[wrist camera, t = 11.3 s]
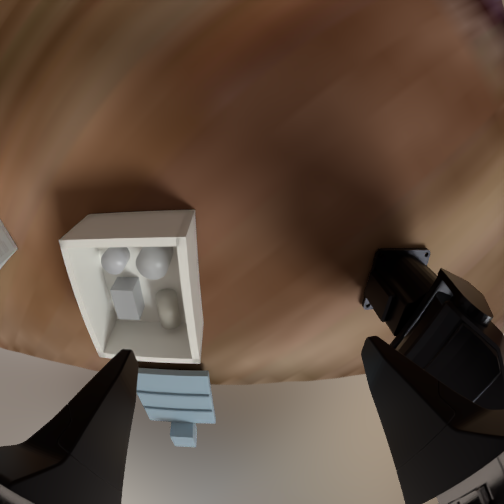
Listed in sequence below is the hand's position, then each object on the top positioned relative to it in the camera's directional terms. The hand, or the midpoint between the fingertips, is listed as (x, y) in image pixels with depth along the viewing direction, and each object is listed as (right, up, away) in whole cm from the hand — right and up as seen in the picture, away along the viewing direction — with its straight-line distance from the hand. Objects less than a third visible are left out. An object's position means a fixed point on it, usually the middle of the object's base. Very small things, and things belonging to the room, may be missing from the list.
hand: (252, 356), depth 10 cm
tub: (-9, +2, +13) cm, 16 cm away
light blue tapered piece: (-9, -15, +22) cm, 28 cm away
